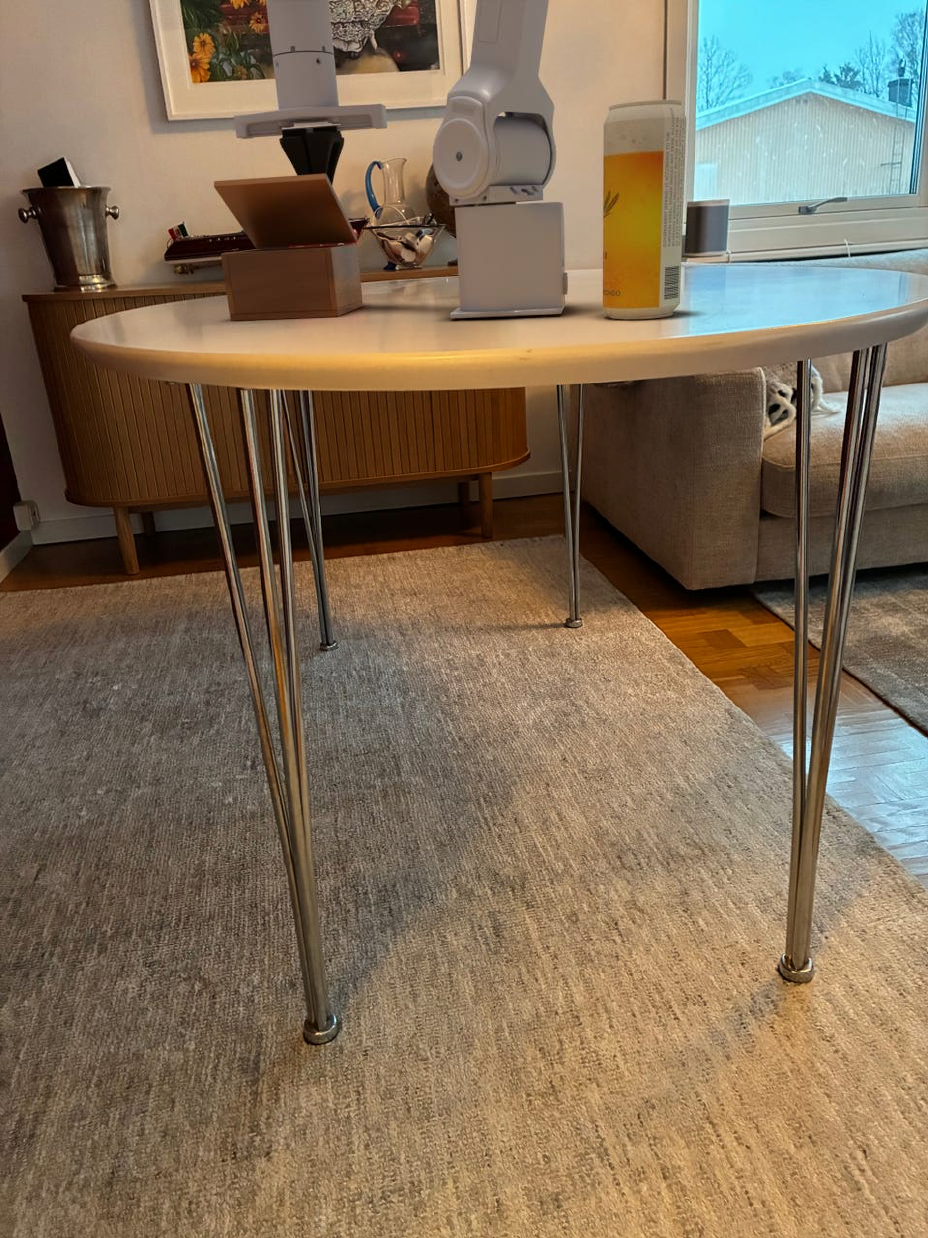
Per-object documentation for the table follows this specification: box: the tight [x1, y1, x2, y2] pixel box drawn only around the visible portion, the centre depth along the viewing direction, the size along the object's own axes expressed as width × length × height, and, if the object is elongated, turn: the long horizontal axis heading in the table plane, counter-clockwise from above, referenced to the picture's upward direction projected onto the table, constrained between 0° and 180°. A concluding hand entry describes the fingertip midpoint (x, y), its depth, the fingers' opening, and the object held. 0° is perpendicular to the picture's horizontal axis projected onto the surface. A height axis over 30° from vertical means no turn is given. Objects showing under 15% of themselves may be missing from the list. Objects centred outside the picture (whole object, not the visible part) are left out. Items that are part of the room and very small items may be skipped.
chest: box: [220, 243, 364, 322], centre depth 92 cm, size 10×11×6 cm
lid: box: [213, 174, 358, 249], centre depth 90 cm, size 11×11×1 cm
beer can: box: [602, 99, 688, 320], centre depth 72 cm, size 6×6×15 cm
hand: (320, 215), depth 92 cm, fingers closed
